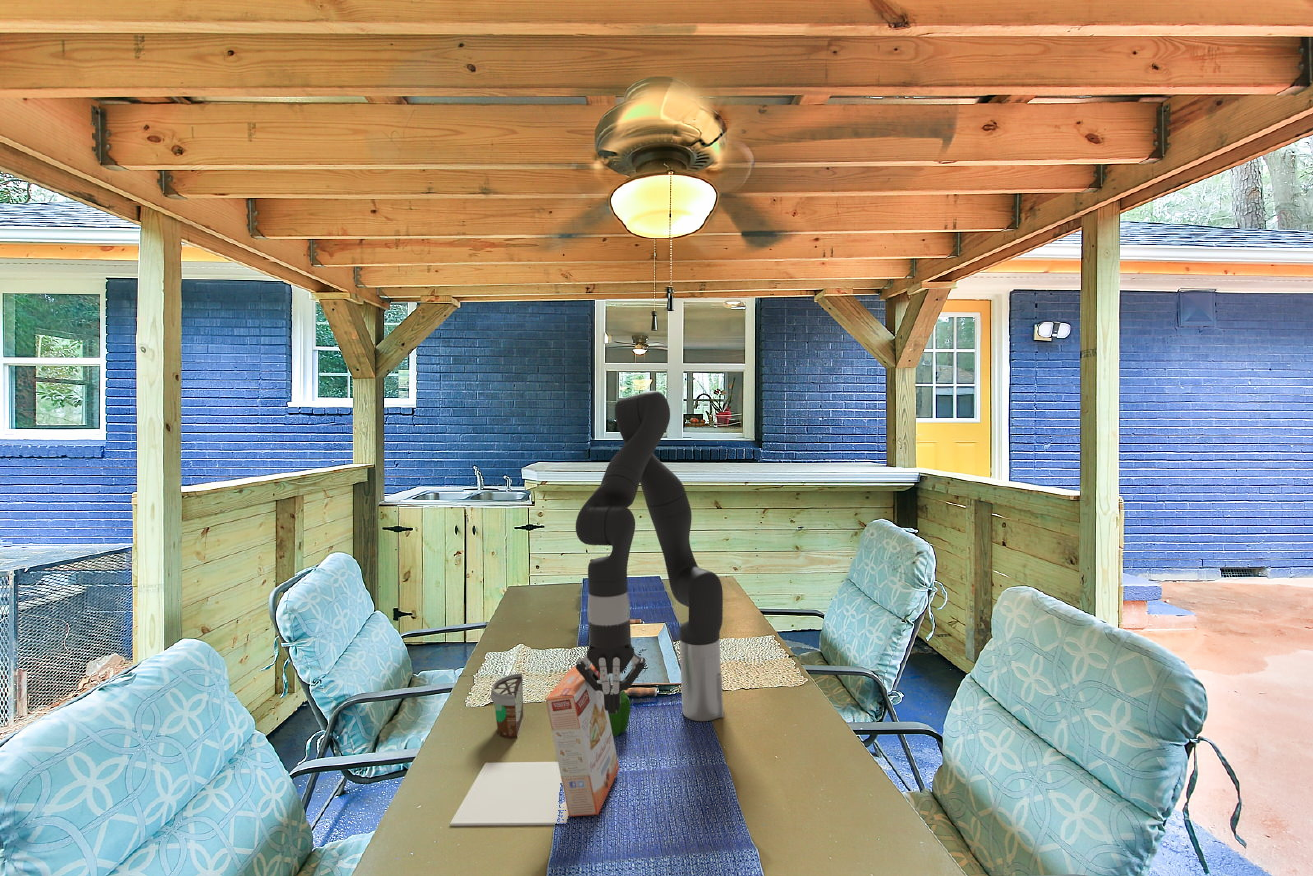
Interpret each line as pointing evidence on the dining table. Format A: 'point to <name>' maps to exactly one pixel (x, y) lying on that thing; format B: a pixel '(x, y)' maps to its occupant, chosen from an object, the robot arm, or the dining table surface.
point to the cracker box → (582, 743)
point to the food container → (508, 705)
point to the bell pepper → (621, 716)
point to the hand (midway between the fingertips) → (612, 711)
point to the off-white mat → (513, 796)
